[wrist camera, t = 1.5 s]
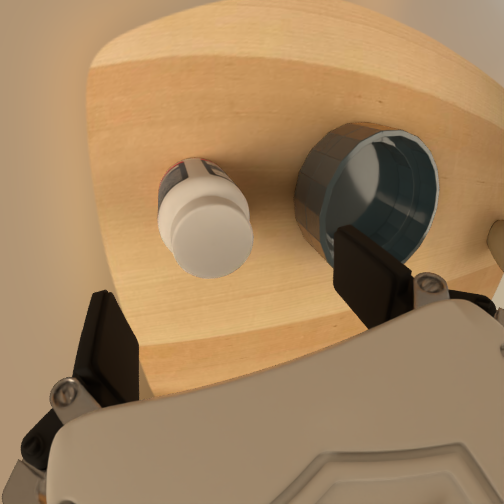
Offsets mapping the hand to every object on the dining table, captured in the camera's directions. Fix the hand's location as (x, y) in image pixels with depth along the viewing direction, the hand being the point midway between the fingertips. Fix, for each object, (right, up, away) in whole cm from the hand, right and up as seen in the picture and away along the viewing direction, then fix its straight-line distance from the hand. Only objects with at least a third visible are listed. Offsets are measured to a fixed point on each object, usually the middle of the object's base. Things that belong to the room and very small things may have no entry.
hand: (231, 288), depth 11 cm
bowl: (+10, +7, +14) cm, 19 cm away
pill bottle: (-4, +6, +10) cm, 12 cm away
